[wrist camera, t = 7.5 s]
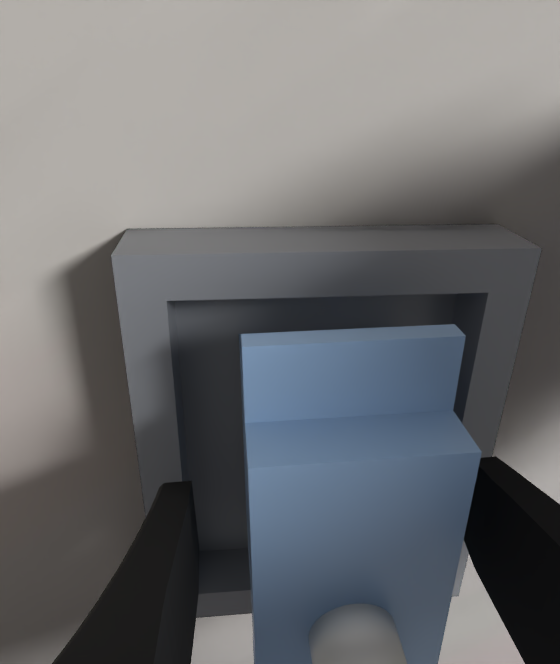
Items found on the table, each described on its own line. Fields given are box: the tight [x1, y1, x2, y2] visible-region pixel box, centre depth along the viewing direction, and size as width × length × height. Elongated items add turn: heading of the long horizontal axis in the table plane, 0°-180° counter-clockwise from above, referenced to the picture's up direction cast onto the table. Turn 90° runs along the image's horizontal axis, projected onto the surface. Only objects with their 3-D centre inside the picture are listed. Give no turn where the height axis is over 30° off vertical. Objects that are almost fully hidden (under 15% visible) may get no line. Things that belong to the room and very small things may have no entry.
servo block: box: [239, 324, 482, 664], centre depth 12 cm, size 4×9×6 cm, turn 0°
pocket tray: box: [111, 224, 542, 618], centre depth 14 cm, size 9×11×2 cm
